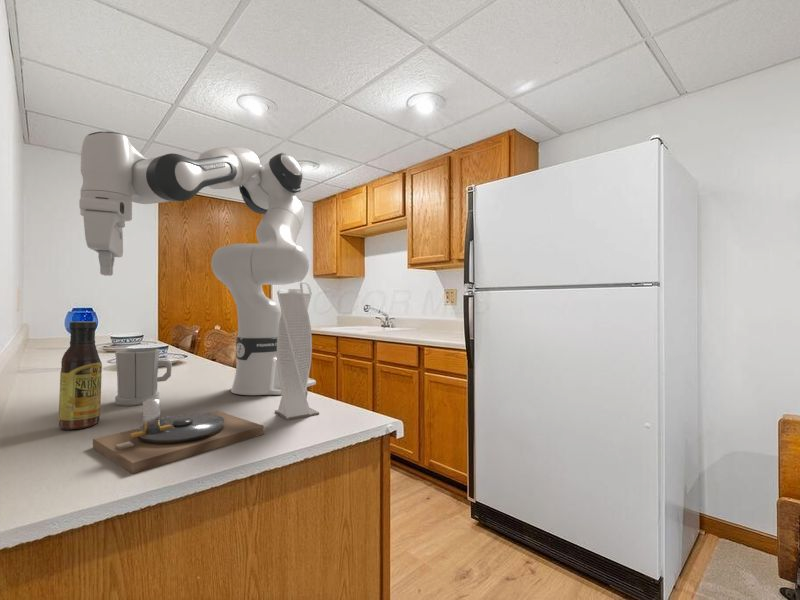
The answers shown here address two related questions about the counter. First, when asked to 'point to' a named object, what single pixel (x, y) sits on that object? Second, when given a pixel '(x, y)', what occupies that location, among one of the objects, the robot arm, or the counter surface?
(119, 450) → the stand
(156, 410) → the dial
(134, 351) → the cup
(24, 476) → the counter surface
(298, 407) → the skyscraper
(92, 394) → the sauce bottle
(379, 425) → the counter surface
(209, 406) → the counter surface
